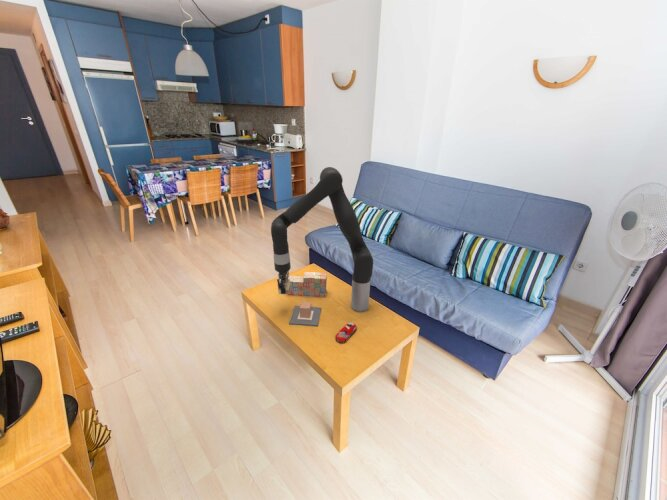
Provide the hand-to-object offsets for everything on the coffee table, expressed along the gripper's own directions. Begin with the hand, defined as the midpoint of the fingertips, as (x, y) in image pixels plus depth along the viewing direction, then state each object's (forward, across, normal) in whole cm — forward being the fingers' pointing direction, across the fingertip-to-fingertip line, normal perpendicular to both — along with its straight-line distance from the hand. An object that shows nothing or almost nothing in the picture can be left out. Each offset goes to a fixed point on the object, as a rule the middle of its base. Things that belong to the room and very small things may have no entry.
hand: (284, 290), depth 149 cm
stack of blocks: (+14, +17, -8) cm, 23 cm away
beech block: (+1, 0, 0) cm, 1 cm away
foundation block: (+12, -3, -10) cm, 16 cm away
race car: (+14, -14, -31) cm, 37 cm away
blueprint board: (+13, -3, -10) cm, 17 cm away
